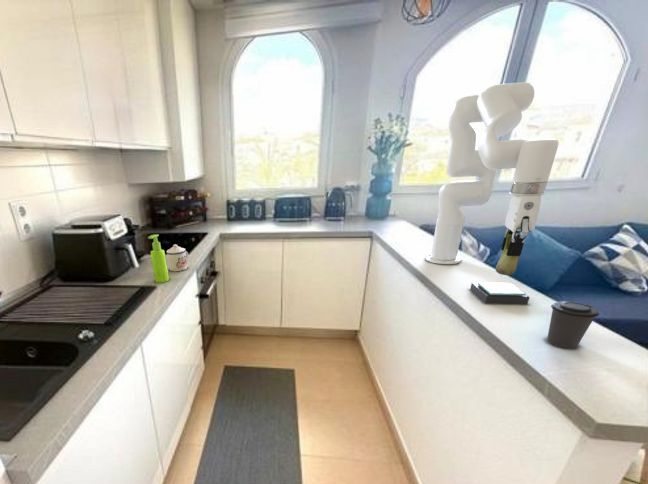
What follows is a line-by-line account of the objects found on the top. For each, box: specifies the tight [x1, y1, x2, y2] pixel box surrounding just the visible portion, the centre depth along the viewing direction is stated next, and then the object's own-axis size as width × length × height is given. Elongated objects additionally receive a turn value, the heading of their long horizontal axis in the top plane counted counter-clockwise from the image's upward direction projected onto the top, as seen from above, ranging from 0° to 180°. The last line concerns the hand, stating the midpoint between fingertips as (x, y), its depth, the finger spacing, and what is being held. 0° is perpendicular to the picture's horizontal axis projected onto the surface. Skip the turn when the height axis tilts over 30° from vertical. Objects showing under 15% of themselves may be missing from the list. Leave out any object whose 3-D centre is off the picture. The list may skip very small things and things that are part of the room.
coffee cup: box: [546, 301, 600, 350], centre depth 80 cm, size 8×8×10 cm
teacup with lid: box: [165, 243, 189, 272], centre depth 163 cm, size 12×9×12 cm
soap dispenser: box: [147, 234, 170, 284], centre depth 146 cm, size 6×7×20 cm
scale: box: [469, 281, 530, 306], centre depth 108 cm, size 12×11×3 cm
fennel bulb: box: [495, 235, 520, 276], centre depth 103 cm, size 6×5×12 cm
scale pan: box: [477, 282, 527, 295], centre depth 107 cm, size 10×9×1 cm
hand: (510, 252), depth 102 cm, fingers closed on fennel bulb, 5 cm apart
